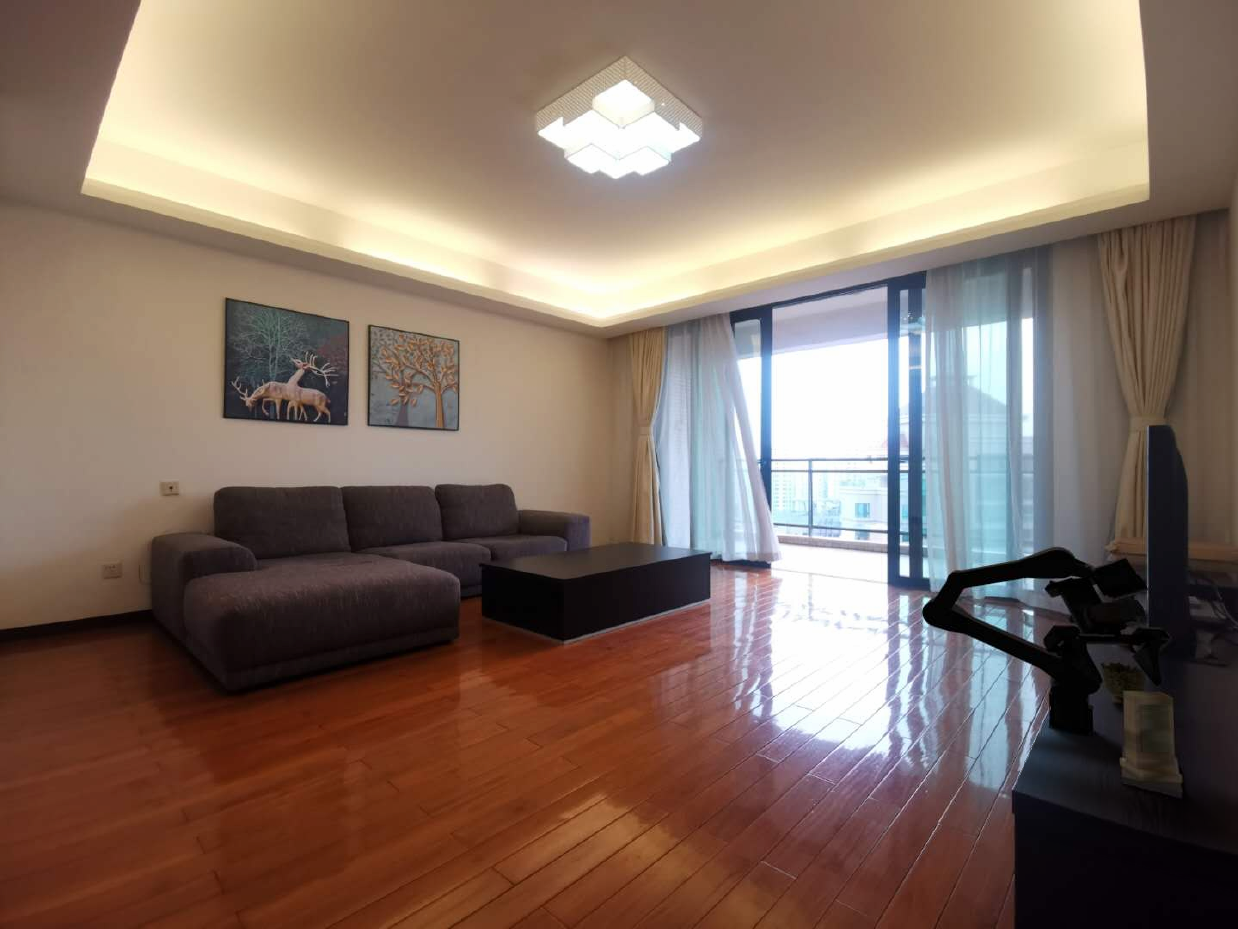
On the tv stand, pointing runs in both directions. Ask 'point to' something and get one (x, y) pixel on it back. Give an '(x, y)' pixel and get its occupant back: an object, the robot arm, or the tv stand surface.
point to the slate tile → (1160, 786)
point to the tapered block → (1149, 736)
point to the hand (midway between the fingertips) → (1130, 684)
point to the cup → (1122, 679)
